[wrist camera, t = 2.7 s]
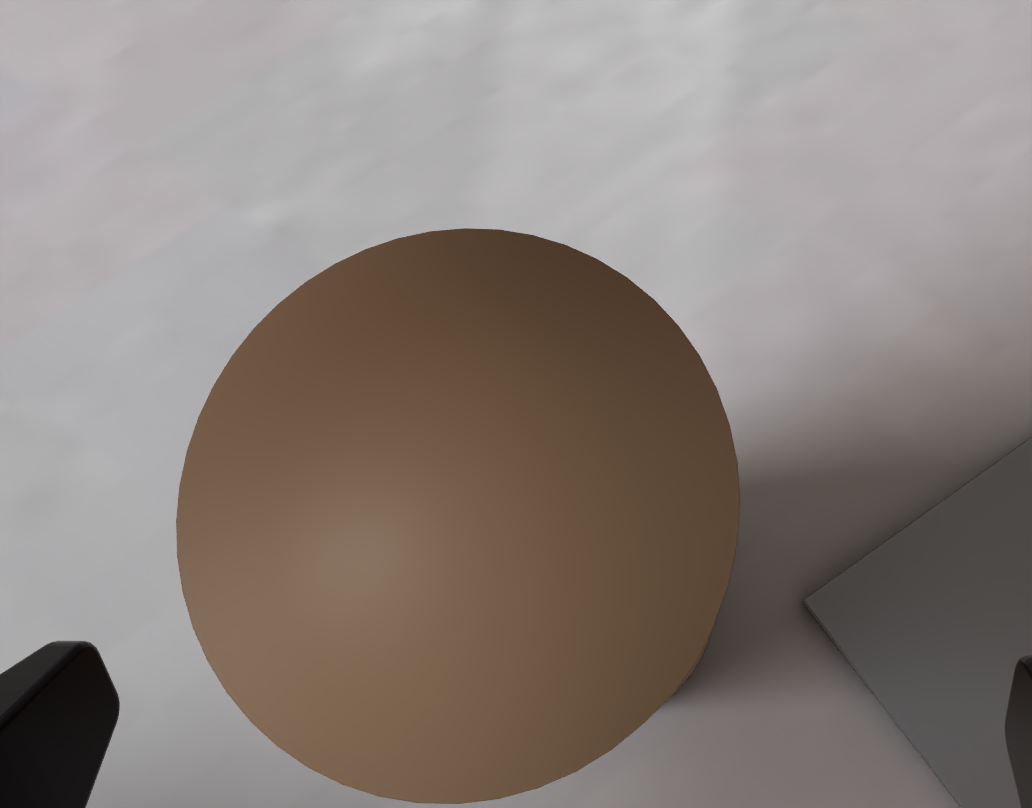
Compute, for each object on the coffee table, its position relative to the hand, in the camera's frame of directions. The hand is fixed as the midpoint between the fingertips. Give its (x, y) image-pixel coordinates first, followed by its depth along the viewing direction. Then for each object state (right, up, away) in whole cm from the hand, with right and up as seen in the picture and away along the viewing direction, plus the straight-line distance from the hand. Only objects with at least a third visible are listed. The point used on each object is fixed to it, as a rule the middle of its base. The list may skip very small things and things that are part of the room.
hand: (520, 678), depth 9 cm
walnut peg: (+2, -1, +9) cm, 9 cm away
